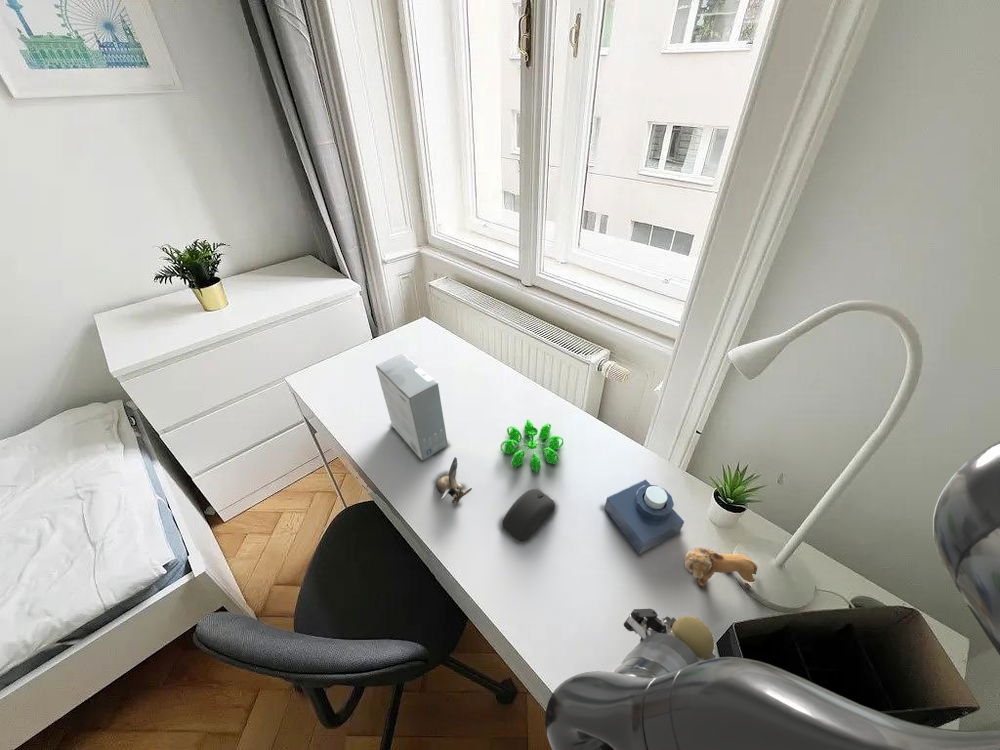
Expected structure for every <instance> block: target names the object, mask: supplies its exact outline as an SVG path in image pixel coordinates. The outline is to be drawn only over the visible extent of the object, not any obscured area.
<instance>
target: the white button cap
mask: <svg viewBox="0 0 1000 750" xmlns="http://www.w3.org/2000/svg"><path fill="white" fill-rule="evenodd" d="M657 486H658V485H657ZM657 486H651V487H649V488H647V490H646V493H645V495H644V501H645V503H646V504H647V505H648V506H649V507H650V508H652V509H661V508H663V507H664V506H665V503H666V501H667V494H666V492H665V491H664V490H663V489H664V488H663V487H661V486H659V487H657ZM660 487H661V488H660ZM662 488H663V489H662Z"/></svg>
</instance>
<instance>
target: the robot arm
mask: <svg viewBox="0 0 1000 750" xmlns="http://www.w3.org/2000/svg"><path fill="white" fill-rule="evenodd" d="M932 538H933V541H934V546H935V549H936V551H937V555H938V557H939V559H940V562H941V564H942V566H943V568H944V569H945V571H946V573H947V575H948V576H949V578H950V579H951V581H952V583H953V584H954V586H955V588H956V589H957V591H958V592H959V594H960V595H961V597H962V599H963V601H964V602H965V604H966V605H967V608H968V609H969V610H970V612H971V613H972V615H973V616H974V618H975V619H976V621H977V623H978V624H979V626H980V627H981V629H982V630H983V632H984V633H985V635H986V637H987V638H988V639H989V641H990V643H991V644H992V646H993V647H994V649H995V650H996V652H997V653H998V656H1000V440H998V441H997V442H994V443H993V444H990V445H988V446H987V447H985V448H984V449H982V450H981V451H980V452H978V453H977V454H975V455H974V456H972V457H971V458H970V459H968V460H967V461H966V462H965V463H964V464H962V466H961V467H959V469H958V470H957V471H956V472H955V473H954V474H953V476H952V477H950V478H949V480H948V482H947V483H946V484H945V486H944V487H943V489H942V491H941V493H940V495H939V496H938V499H937V502H936V504H935V507H934V512H933V516H932ZM658 616H659V614H658V613H657V611H656V610H654V609H653V608H637V609H636V608H634V609H632V611H631V613H630V614H629V615H628V616H627V618H626V620H625V621H624V622H623V627H624V628H625V629H626V630H627V631H628V632H634V633H635V634H637V635H639V637H640V639H639V643H638V645H636V646H635V647H634V648H633V649H632V650H631V651H630V652H629V653H628V654H627V655H626V656H625V657H624V658H623V660H622V661H621V664H620V665H619V666H618V667H617V668H616V669H615V670H614V671H599V670H597V671H586V672H582V673H578V674H575V675H572V676H571V677H569V678H567V679H565V680H563V682H561V683H560V684H559V685H558V686H557V687H556V688H555V689H554V691H553V692H552V694H551V696H550V697H549V699H548V701H547V706H546V709H545V716H544V725H545V733H546V736H547V741H548V742H549V746H550V749H551V750H1000V729H999V728H998V729H985V730H983V729H982V730H981V729H980V730H963V729H950V728H942V727H933V726H930V725H929V726H928V725H924V724H920V723H919V724H918V723H915V722H912V721H907V720H904V719H901V718H898V717H896V716H892V715H890V714H888V713H885V712H882V711H879V710H877V709H874V708H871V707H868V706H865V705H863V704H860V703H858V702H856V701H854V700H852V699H850V698H847V697H845V696H843V695H840V694H838V693H836V692H834V691H831V690H830V689H827V688H825V687H823V686H820V685H819V684H817V683H815V682H812V681H811V680H808V679H806V678H804V677H801V676H799V675H796V674H795V673H791V672H790V671H787V670H785V669H783V668H781V667H777V666H775V665H773V664H769V663H767V662H763V661H761V660H756V659H751V658H744V657H736V656H735V657H734V656H721V657H717V656H716V655H715V654H714V652H713V653H712V655H711V656H710V657H709V658H708V659H707V660H705V659H704V658H703V657H696V655H695V654H694V652H693V651H692V650H691V649H690V648H689V647H688V646H687V645H686V644H685V643H684V642H683V641H681V640H680V639H678V638H677V637H676V636H675V631H674V630H673V629H672V626H673V624H674V622H675V621H676V620H677V619H676V618H675V616H673V617H670V616H668V615H667V616H665V617H664V618H663V617H662V618H659V617H658Z"/></svg>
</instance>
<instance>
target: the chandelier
mask: <svg viewBox="0 0 1000 750" xmlns="http://www.w3.org/2000/svg"><path fill="white" fill-rule="evenodd" d="M551 428H552V425H551V423H549V422H548V423H545V424H544V425H542V426H541V428H540V432H539V435H538V429H537V427H534V424H533V423H532V422H531V421H530V418H529V419H526V422H525V424H524V431H523V432H524V434H525V435H527V436H528V437H529V439H530V440H529V441H528V440H526V439H525V438H523V435H522V434H521V431H520V430H519V429H518V428H516V427H515V426H512V425H511V426H508V427H507V428H506V433H507V434H508V437H509V438H510V439H506V440H504V441H502V442H501V444H500V450H501V452H503V453H505V454H509V455H510V454H513V457H512V459H511V466H512V467H513V468H518V467H520V466H522V465H523V463H524V458H525V455H526V452H527V451H528V450H529V449H530V450H532V456H531V459H530V468H531V469H532V470H533V471H534V472H535V473H538V472H539V470H540V468H541V458H540V457H539V456H538V454H537V453H536V452H535V450H534V449H538V450H539V451H541V452H542V455H543V457H544V459H545V461H546V462H547V463H548V464H553V465H557V464H558V463H559V462H560V457H559V455H558V452H556V450H558V449H560V448H562V446H563V445H564V439H563V437H562V436H560V435H553V436H550V433H551V432H550V431H551V430H552V429H551ZM536 435H538V437H537V438H536V440H535V441H534V436H536ZM545 439H546V440H545ZM559 439H560V440H561V443H560V440H559ZM521 440H523V441H524V442H525V443H526V444H519V442H520V441H521ZM538 440H542V441H543V440H545V442H542V443H537V441H538ZM548 442H549V445H548ZM515 444H516V445H517V446H516V448H515ZM503 445H504V449H503V448H502V447H503ZM538 445H545V446H546V447H545V448H543V449H541V448H540V447H538ZM526 446H527V448H526V449H525V450H522V449H520V450H518V449H519V447H526ZM517 450H518V451H517ZM556 460H557V461H556Z"/></svg>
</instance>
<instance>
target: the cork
mask: <svg viewBox="0 0 1000 750" xmlns="http://www.w3.org/2000/svg"><path fill="white" fill-rule="evenodd" d="M672 629H673V630H674V631H675V636H676V637H677V638H678V639H680V640H681V641H683V642H684V643H685V644H686V645H687V646H688V647H689V648H690V649H691V650H692V651H693V652H694V654H695V655H696V657H703V658H704V659H705V660H707V659H708V658H709V657H710V656H711V655H712V653H713V654H714V650H715V639H714V636H713V633H712V631H711V629H710V628H709V626H708V625H706V623H705V622H704V621H702V620H701V619H700V618H698V617H695V616H692V615H684V616H683V615H682V616H680V617H678V618H677V619H676V621H675V622H674V624H673V626H672Z"/></svg>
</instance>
